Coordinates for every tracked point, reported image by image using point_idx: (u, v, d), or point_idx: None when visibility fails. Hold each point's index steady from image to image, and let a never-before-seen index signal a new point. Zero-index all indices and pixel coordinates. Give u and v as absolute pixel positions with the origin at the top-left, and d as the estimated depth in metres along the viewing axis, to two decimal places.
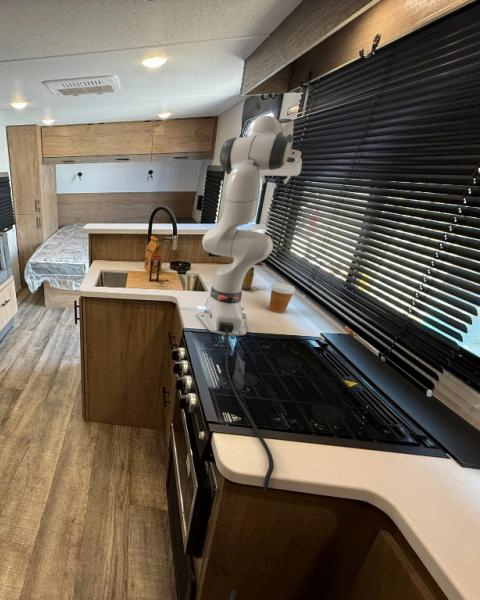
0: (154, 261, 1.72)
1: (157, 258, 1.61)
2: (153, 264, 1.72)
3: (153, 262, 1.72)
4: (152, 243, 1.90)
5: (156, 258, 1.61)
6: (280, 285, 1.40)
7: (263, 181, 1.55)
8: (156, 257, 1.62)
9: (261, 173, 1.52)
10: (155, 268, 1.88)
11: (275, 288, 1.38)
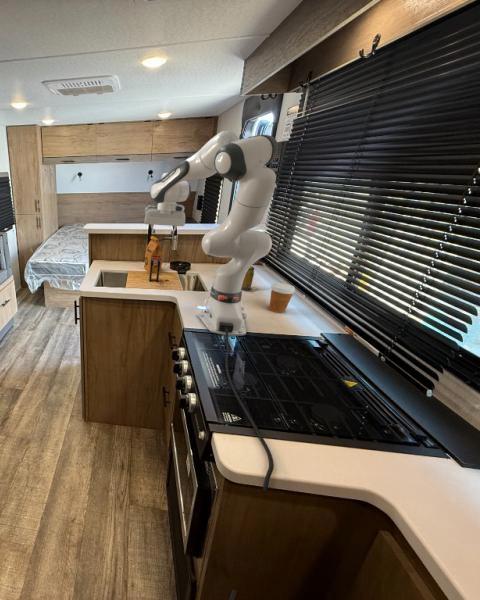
0: (154, 261, 1.72)
1: (157, 258, 1.61)
2: (153, 264, 1.72)
3: (153, 262, 1.72)
4: (152, 243, 1.90)
5: (156, 258, 1.61)
6: (280, 285, 1.40)
7: (153, 231, 1.59)
8: (156, 257, 1.62)
9: (152, 222, 1.56)
10: (155, 268, 1.88)
11: (275, 288, 1.38)
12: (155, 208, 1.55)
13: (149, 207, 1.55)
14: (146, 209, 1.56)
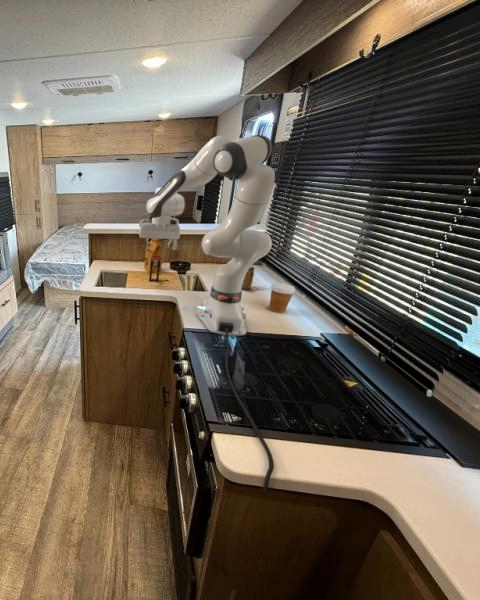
0: (154, 261, 1.72)
1: (157, 258, 1.61)
2: (153, 264, 1.72)
3: (153, 262, 1.72)
4: (152, 243, 1.90)
5: (156, 258, 1.61)
6: (280, 285, 1.40)
7: (148, 245, 1.59)
8: (156, 257, 1.62)
9: (147, 236, 1.56)
10: (155, 268, 1.88)
11: (275, 288, 1.38)
12: (150, 222, 1.55)
13: (144, 221, 1.55)
14: (141, 223, 1.56)
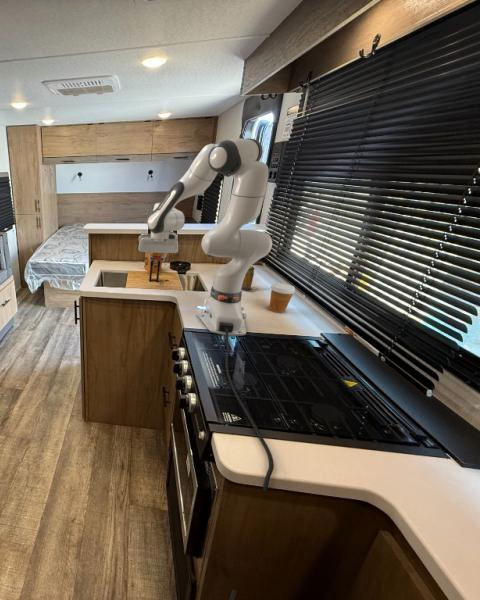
0: (154, 261, 1.72)
1: (157, 258, 1.61)
2: (153, 264, 1.72)
3: (153, 262, 1.72)
4: None
5: (156, 258, 1.61)
6: (280, 285, 1.40)
7: (150, 258, 1.62)
8: (156, 257, 1.62)
9: (146, 249, 1.59)
10: (155, 268, 1.88)
11: (275, 288, 1.38)
12: (148, 236, 1.58)
13: (143, 235, 1.58)
14: (140, 237, 1.59)
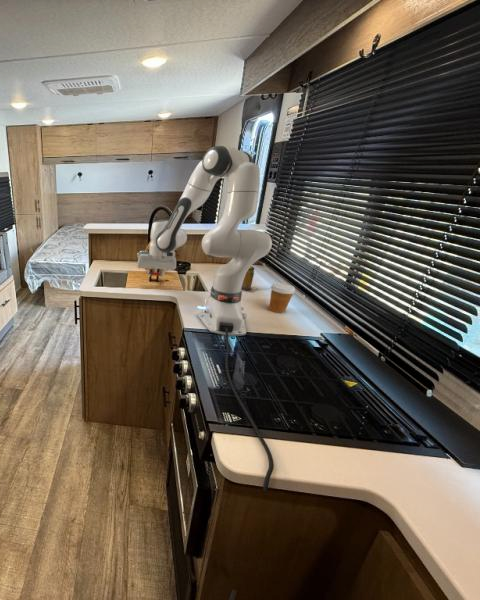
0: None
1: (155, 274, 1.64)
2: None
3: None
4: None
5: (154, 274, 1.64)
6: (280, 285, 1.40)
7: (149, 274, 1.65)
8: (155, 273, 1.64)
9: (145, 266, 1.62)
10: None
11: (275, 288, 1.38)
12: (147, 253, 1.61)
13: (141, 252, 1.61)
14: (138, 254, 1.62)
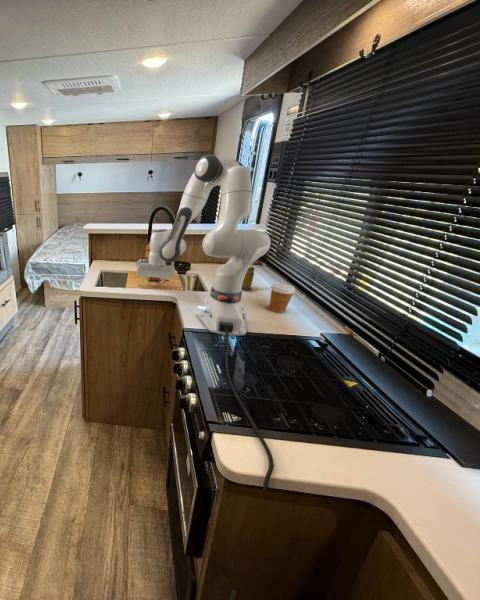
0: None
1: (155, 279, 1.67)
2: None
3: None
4: None
5: (154, 279, 1.67)
6: (280, 285, 1.40)
7: (148, 283, 1.67)
8: (154, 278, 1.67)
9: (144, 274, 1.65)
10: None
11: (275, 288, 1.38)
12: (146, 262, 1.63)
13: (140, 261, 1.63)
14: (138, 263, 1.64)
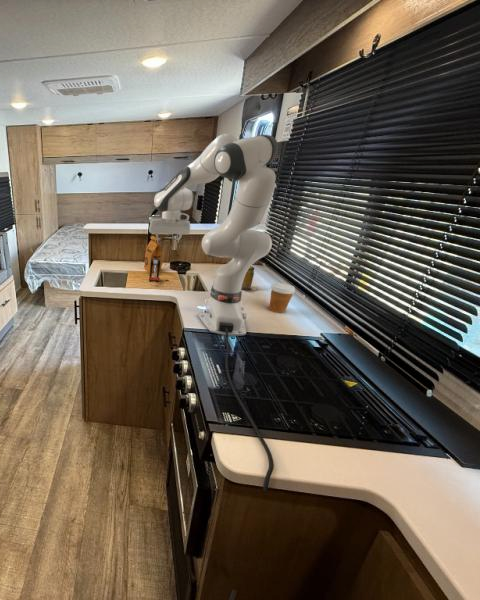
0: (154, 264, 1.72)
1: (155, 279, 1.67)
2: (153, 265, 1.73)
3: (153, 264, 1.72)
4: (152, 243, 1.90)
5: (154, 279, 1.67)
6: (280, 285, 1.40)
7: (158, 240, 1.59)
8: (154, 278, 1.67)
9: (157, 231, 1.57)
10: None
11: (275, 288, 1.38)
12: (160, 217, 1.55)
13: (154, 216, 1.55)
14: (151, 218, 1.56)
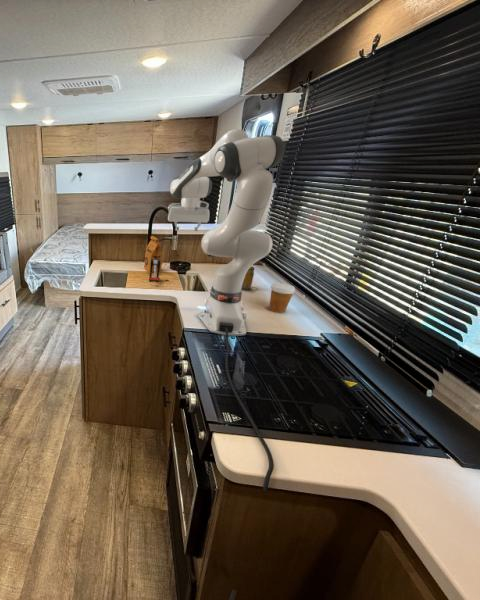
0: (154, 264, 1.72)
1: (155, 279, 1.67)
2: (153, 265, 1.73)
3: (153, 264, 1.72)
4: (152, 243, 1.90)
5: (154, 279, 1.67)
6: (280, 285, 1.40)
7: (177, 228, 1.60)
8: (154, 278, 1.67)
9: (176, 219, 1.57)
10: None
11: (275, 288, 1.38)
12: (179, 205, 1.55)
13: (173, 204, 1.56)
14: (170, 206, 1.56)
